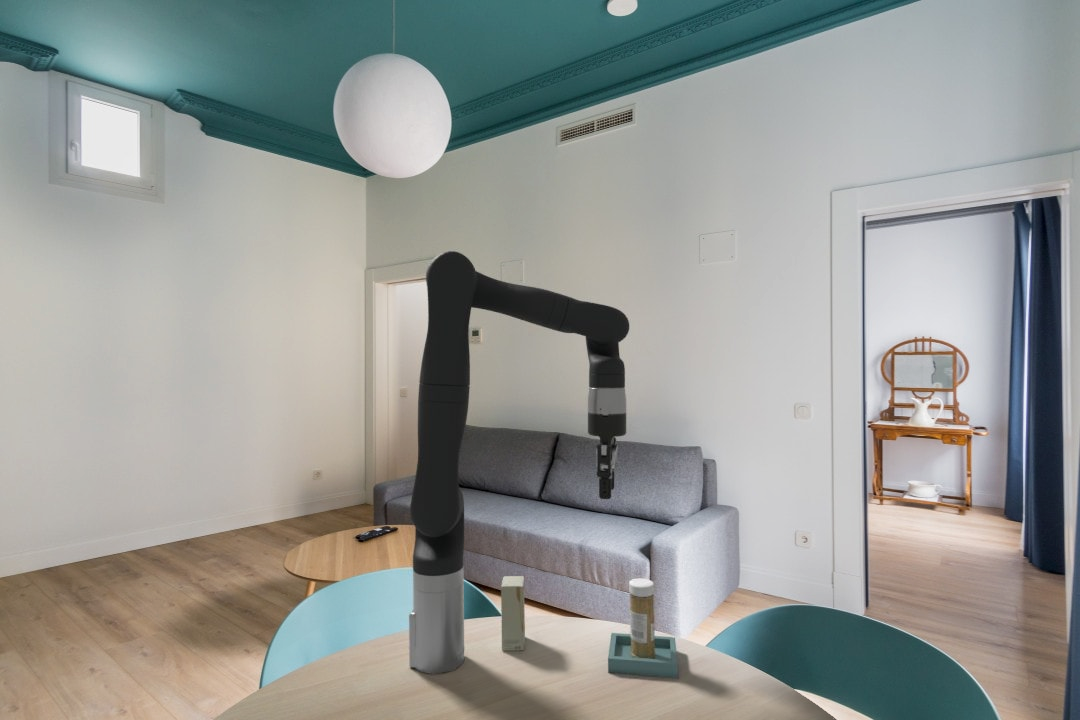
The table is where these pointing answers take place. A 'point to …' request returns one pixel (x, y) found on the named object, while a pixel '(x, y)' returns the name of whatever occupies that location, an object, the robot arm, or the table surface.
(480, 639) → the table surface
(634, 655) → the sprinkles bottle
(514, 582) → the skincare box
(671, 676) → the tray
